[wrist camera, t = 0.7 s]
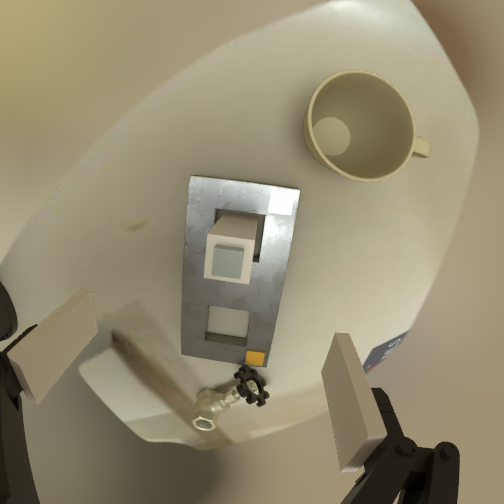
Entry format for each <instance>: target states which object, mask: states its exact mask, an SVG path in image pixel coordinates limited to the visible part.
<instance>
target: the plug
mask: <svg viewBox="0 0 504 504" xmlns="http://www.w3.org/2000/svg"><path fill="white" fill-rule="evenodd" d="M257 224H258V217H252V216H245V215H237V214H230V213H224V214H223V215H222V216H221V218H220V219H219V220H218V221H217V222H216V224H215V225H214V226H213V227H212V229H211V230H210V231H209V232H208V234H207V244H206V256H205V268H204V278H208V279H215V280H222V281H228V282H235V283H242V284H249V281H250V274H251V267H252V260H253V253H254V245H255V238H256V231H257Z"/></svg>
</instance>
